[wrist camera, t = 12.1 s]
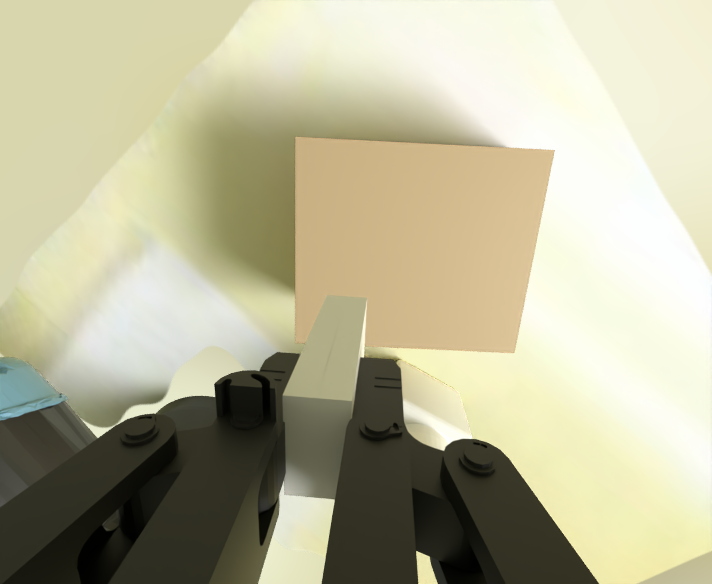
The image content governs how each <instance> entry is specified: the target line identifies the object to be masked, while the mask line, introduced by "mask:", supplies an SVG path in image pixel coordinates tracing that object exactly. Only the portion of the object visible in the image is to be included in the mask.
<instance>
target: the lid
mask: <svg viewBox="0 0 712 584" xmlns="http://www.w3.org/2000/svg"><path fill="white" fill-rule="evenodd" d="M554 151H555V150H541V149H522V148H503V147H483V146H464V145H445V144H426V143H407V142H388V141H368V140H349V139H330V138H311V137H295V343H306V341H307V339H308V336H309V334H310V332H311V330H312V327H313V325H314V323H315V320H316V318H317V316H318V314H319V311H320V309H321V307H322V305H323V302H324V300H325V298H326V296H327V295H333V296H349V297H364V298H367V310H366V328H365V346H372V347H393V348H415V349H436V350H458V351H479V352H501V353H514V352H515V347H516V342H517V337H518V332H519V327H520V322H521V317H522V312H523V307H524V302H525V297H526V292H527V287H528V282H529V277H530V272H531V267H532V262H533V257H534V252H535V247H536V242H537V237H538V231H539V226H540V221H541V216H542V211H543V206H544V201H545V196H546V191H547V186H548V181H549V176H550V171H551V166H552V161H553V156H554Z"/></svg>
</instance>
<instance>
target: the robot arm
mask: <svg viewBox="0 0 712 584" xmlns="http://www.w3.org/2000/svg"><path fill="white" fill-rule="evenodd" d="M366 310H367V298H364V297H349V296H333V295H327V296H326V298H325V300H324V302H323V305H322V307H321V309H320V311H319V314H318V316H317V318H316V320H315V323H314V325H313V327H312V330H311V332H310V334H309V336H308V339H307V341H306V343H305V345H304V348H303V350H302V352H301V354H294V353H280V352H277V353H275V354H274V355H272V356H271V357H269V358H268V359H266V360H265V362H264V363H263V365H262V367H261V368H260V371H255V370H254V371H240V372H235V373H231V374H229V375H227V376H224V377H222V378H221V379H219V380H218V381H217V382H216V383H215V384H214V385H215V397H209V396H192V397H185V398H181V399H178V400H175V401H173V402H171V403H169V404H167V405H166V406H164V407H163V408H161V409H160V410H159V411H158V412H157V413H156V414H145V415H140V416H137V417H134V418H130V419H127V420H125V421H124V422H122V423H120V424H118V425H116V426H115V427H113V428H112V429H111V430H109V431H108V432H106V433H105V434H103V435H102V436H100V437H99V438H97V437H96V436H95V435H94V434H93V433H92V431H91V430H90V429H89V428H88V427H87V426H86V425H85V424H84V422H83V421H82V420H81V419H80V418H79V417H78V416H77V414H76V413H75V412H74V411H73V410H72V409H71V408H70V407H69V405H68V404H67V403H66V402H65V401H66V400H68V398H67V397H66V396H65V395H64V394H59V393H58V392H57V391H56V390H55V389H54V388H53V387H52V386H51V385H50V384H49V383H48V382H47V381H46V380H45V379H44V378H43V377H42V376H41V375H40V374H39V373H38V372H37V371H36V370H35V369H34V368H33V367H32V366H31V365H30V364H29V363H27V362H25V361H23V360H21V359H17V358H12V357H0V584H258V581H259V578H260V574H261V571H262V568H263V565H264V561H265V558H266V554H267V551H268V548H269V545H270V541H271V538H272V535H273V532H274V528H275V525H276V522H277V518H278V515H279V493H280V490H281V487H282V484H283V481H284V495H295V496H305V497H316V498H326V499H335V503H334V509H333V515H332V522H331V528H330V534H329V541H328V547H327V553H326V561H325V566H324V573H323V579H322V584H418V574H417V559H416V551H418V552H420V553H423V554H425V555H427V556H430V561H431V565H432V568H433V571H434V574H435V577H436V580H437V582H438V584H599V583H598V582H597V580H596V579H595V577H594V576H593V575H592V573H591V572H590V570H589V569H588V568H587V566H586V565H585V564H584V562H583V561H582V559H581V558H580V557H579V555H578V554H577V552H576V551H575V550H574V548H573V547H572V546H571V544H570V543H569V541H568V540H567V539H566V537H565V536H564V534H563V533H562V532H561V530H560V529H559V528H558V526H557V525H556V523H555V522H554V521H553V519H552V518H551V516H550V515H549V514H548V512H547V511H546V510H545V508H544V507H543V505H542V504H541V503H540V501H539V500H538V498H537V497H536V496H535V494H534V493H533V491H532V490H531V489H530V487H529V486H528V485H527V483H526V482H525V480H524V479H523V478H522V476H521V475H520V473H519V472H518V471H517V469H516V468H515V467H514V465H513V464H512V462H511V461H510V460H509V458H508V457H507V456H506V455H505V454H504V453H503V452H502V451H501V450H500V449H498V448H496V447H494V446H493V445H491V444H489V443H487V442H483V441H480V440H477V439H459V440H455V441H452V442H451V443H450V444H448V445H447V446H446V447H445V450H444V451H443V450H440V449H436V448H433V447H430V446H428V445H426V444H423V443H421V442H420V441H418V440H417V439H415V438H414V437H413V436H412V435H411V434H410V433H409V432H408V430H407V428H406V425H405V423H404V412H403V395H402V381H401V368H400V367H399V366H398V365H397V363H396V362H395V361H394V360H391V359H378V358H364V347H365V328H366Z"/></svg>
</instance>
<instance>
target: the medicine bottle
mask: <svg viewBox="0 0 712 584" xmlns="http://www.w3.org/2000/svg"><path fill="white" fill-rule="evenodd" d="M396 363H397V365H398V366H399V367H400V368H401V381H402V395H403V412H404V423H405V425H406V428H407V430H408V432H409V433H410V434H411V435H412V436H413V437H414V438H415V439H417V440H418V441H420V442H421V443H423V444H426V445H428V446H430V447H433V448H436V449H440V450H443V451H444V450H445V447H446V446H447V445H448V444H450V443H451V442H452V441H455V440H459V439H472V434H471V431H470V427H469V424H468V421H467V417H466V414H465V411H464V407H463V404H462V400H461V397H460V394H459V392H458V391H457V390H455V389H453V388H451V387H450V386H448V385H446V384H444V383H442V382H441V381H439V380H437V379H435V378H433V377H432V376H430V375H428V374H426V373H424V372H423V371H421V370H419V369H417V368H415V367H413V366H412V365H410V364H408V363H406V362H404V361H403V360H397V362H396Z"/></svg>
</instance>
